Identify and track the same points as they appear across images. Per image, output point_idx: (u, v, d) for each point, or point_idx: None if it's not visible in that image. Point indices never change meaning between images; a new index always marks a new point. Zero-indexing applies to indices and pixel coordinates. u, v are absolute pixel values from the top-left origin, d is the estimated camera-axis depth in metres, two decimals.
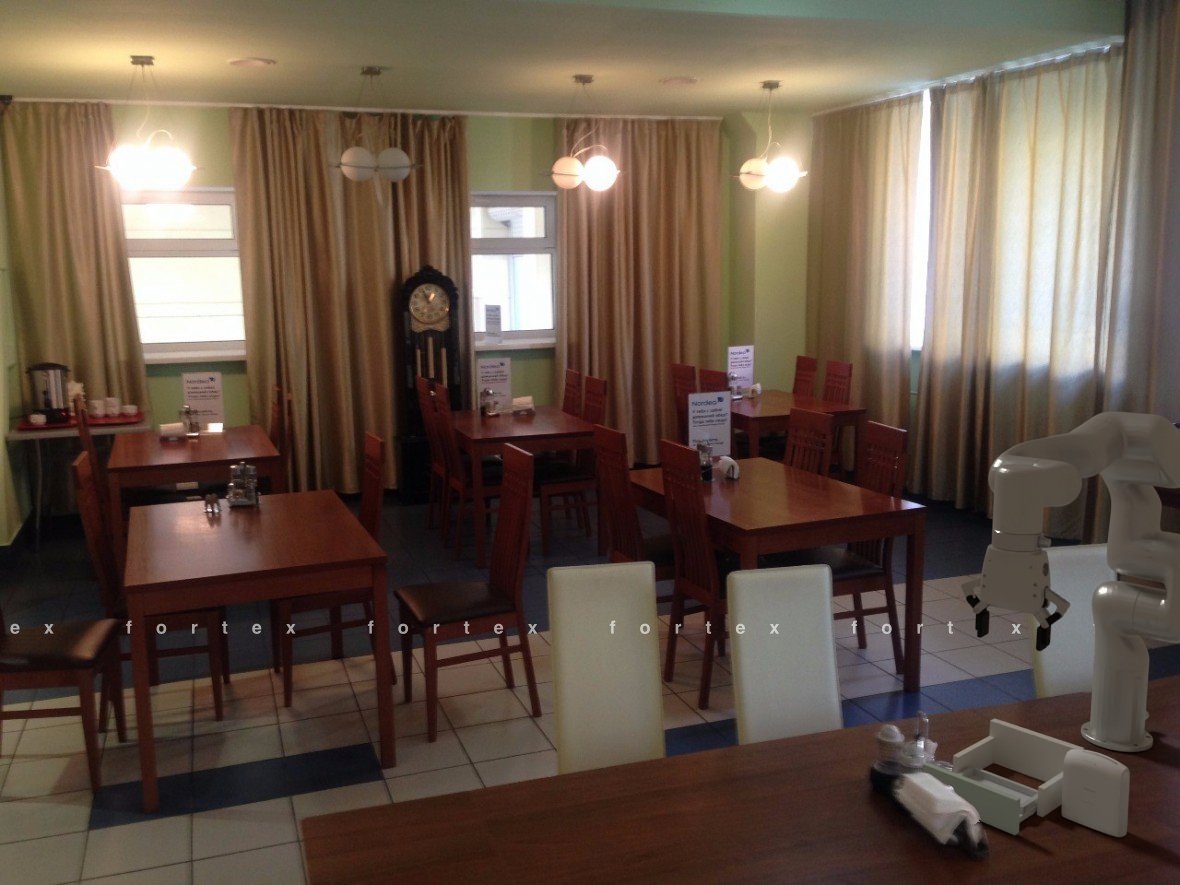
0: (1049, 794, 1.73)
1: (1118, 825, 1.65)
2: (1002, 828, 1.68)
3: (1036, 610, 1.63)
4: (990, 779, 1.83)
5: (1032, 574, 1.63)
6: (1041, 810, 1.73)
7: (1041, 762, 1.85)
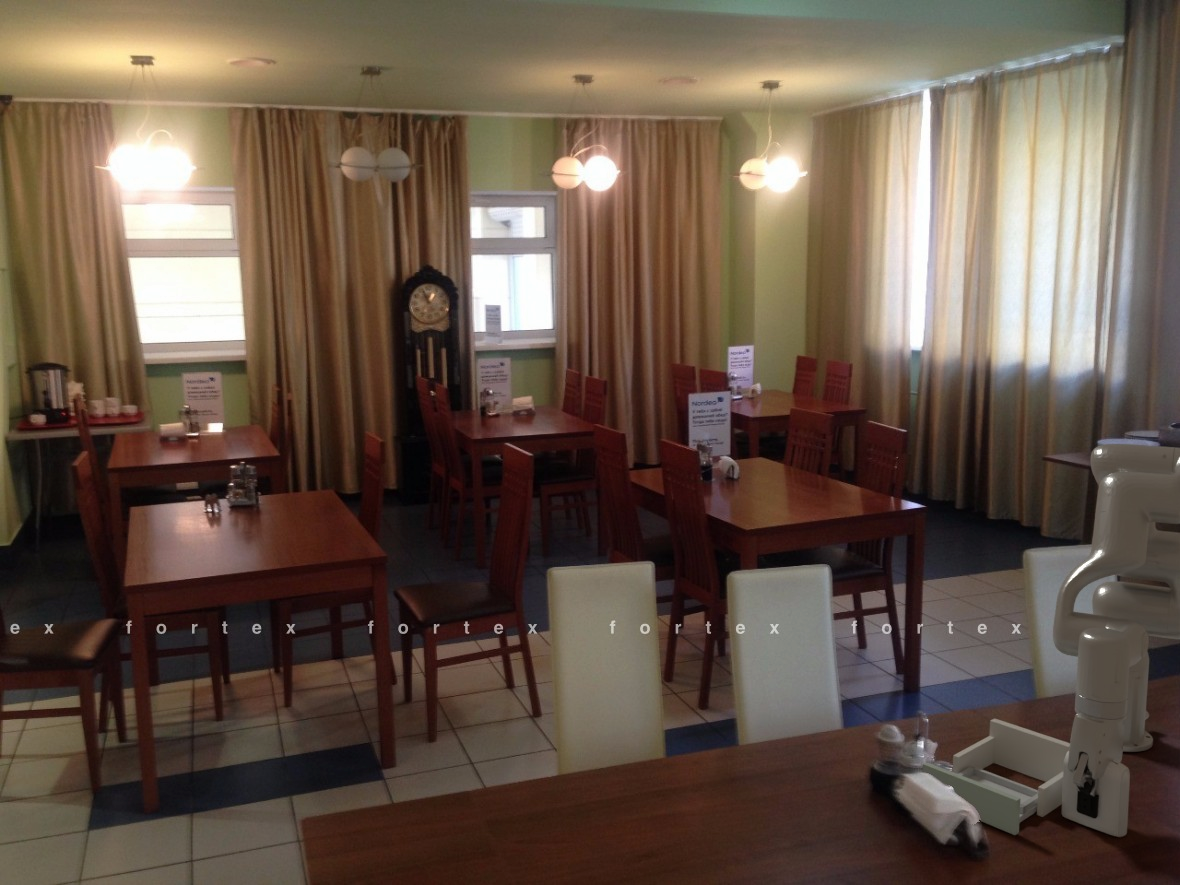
0: (1049, 794, 1.73)
1: (1118, 825, 1.65)
2: (1002, 828, 1.68)
3: None
4: (990, 779, 1.83)
5: (1122, 729, 1.68)
6: (1041, 810, 1.73)
7: (1041, 762, 1.85)
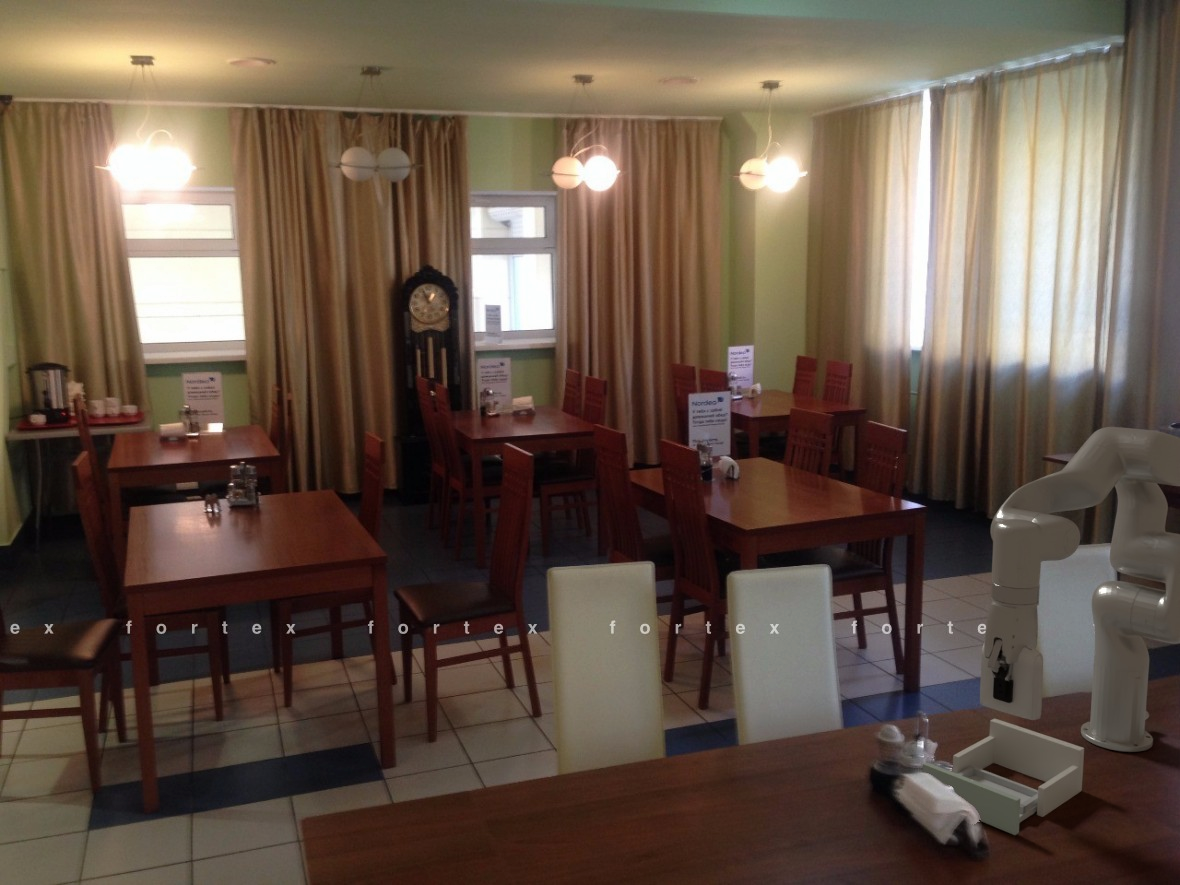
0: (1049, 794, 1.73)
1: (1032, 708, 1.71)
2: (1002, 828, 1.68)
3: (1035, 648, 1.76)
4: (990, 779, 1.83)
5: (1036, 617, 1.74)
6: (1041, 810, 1.73)
7: (1041, 762, 1.85)
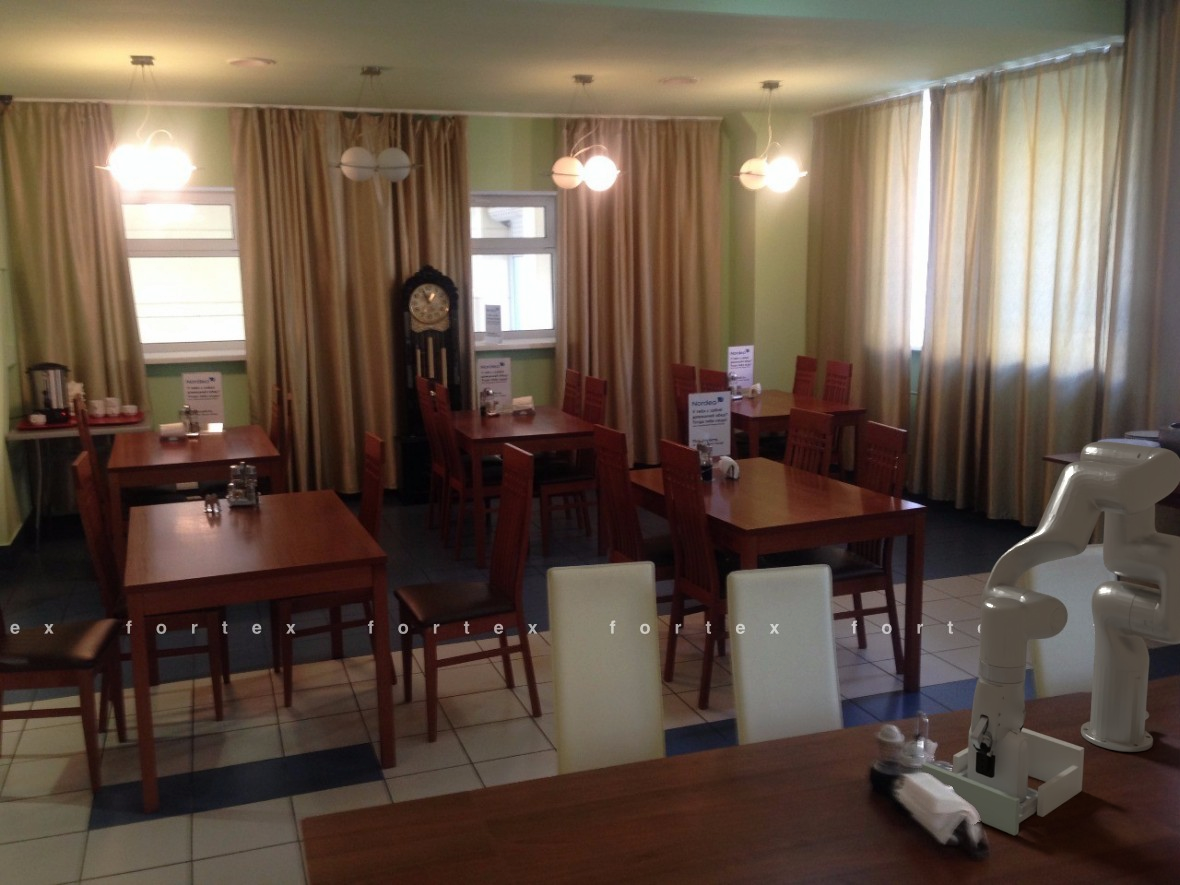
0: (1049, 794, 1.73)
1: (1017, 791, 1.74)
2: (1002, 828, 1.68)
3: (1022, 724, 1.78)
4: None
5: (1023, 693, 1.77)
6: (1041, 810, 1.73)
7: (1041, 762, 1.85)
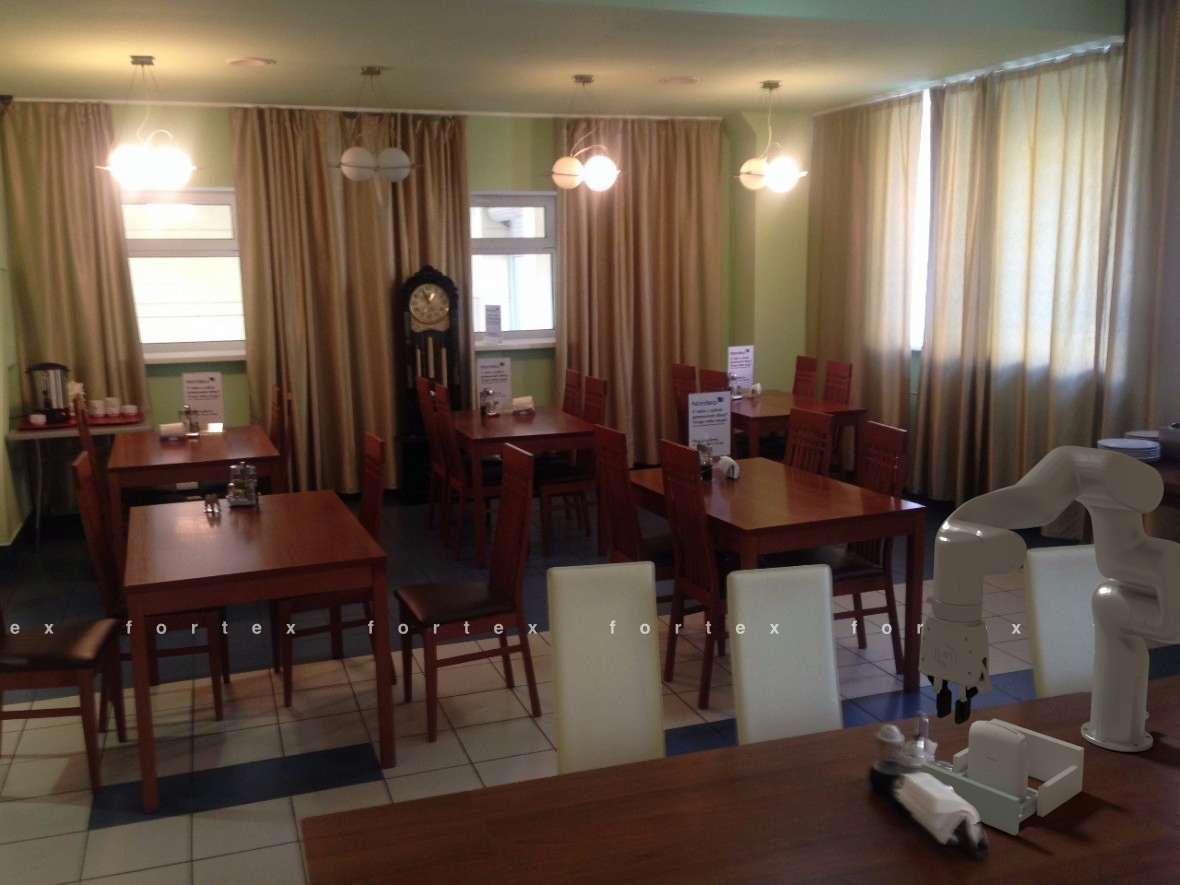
0: (1049, 794, 1.73)
1: (1017, 791, 1.74)
2: (1002, 828, 1.68)
3: None
4: None
5: None
6: (1041, 810, 1.73)
7: (1041, 762, 1.85)
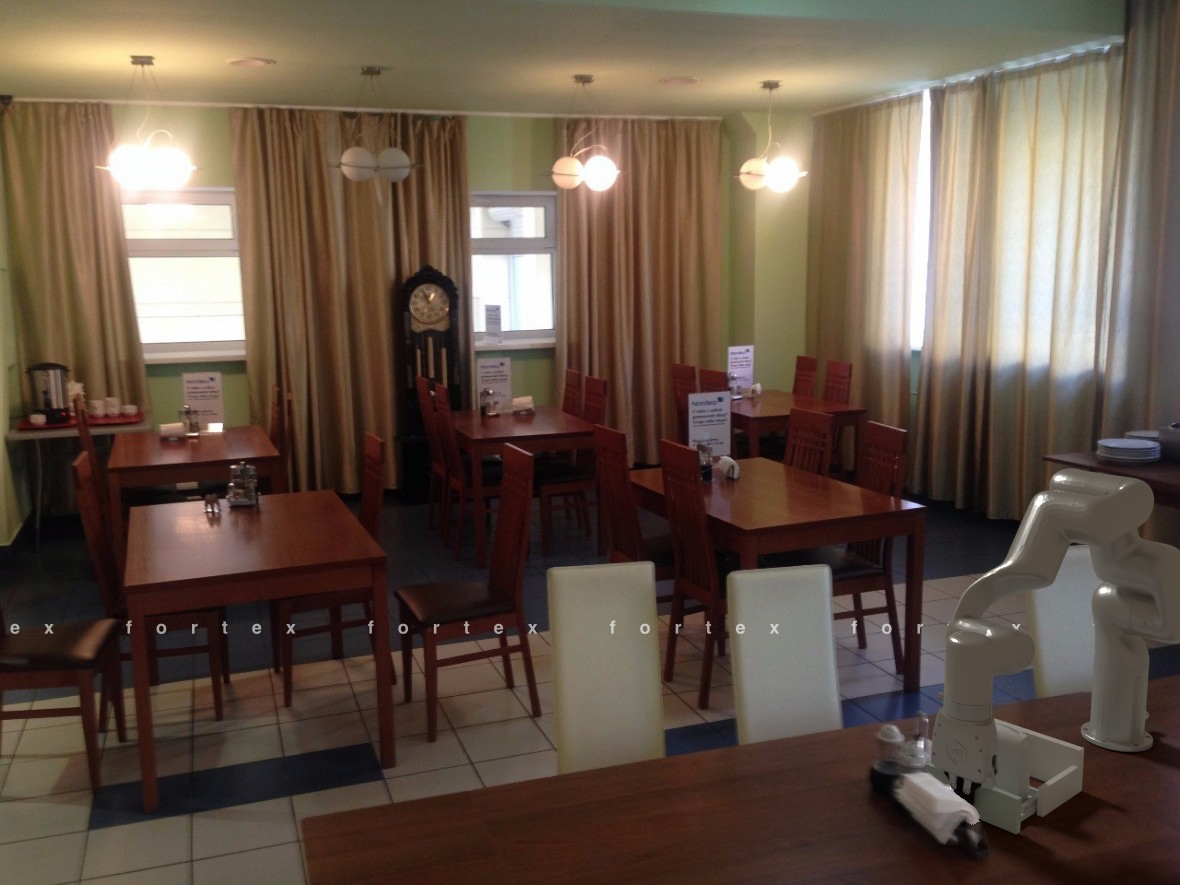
0: (1049, 794, 1.73)
1: (1019, 790, 1.74)
2: (1003, 827, 1.68)
3: None
4: None
5: None
6: (1041, 810, 1.73)
7: (1041, 762, 1.85)
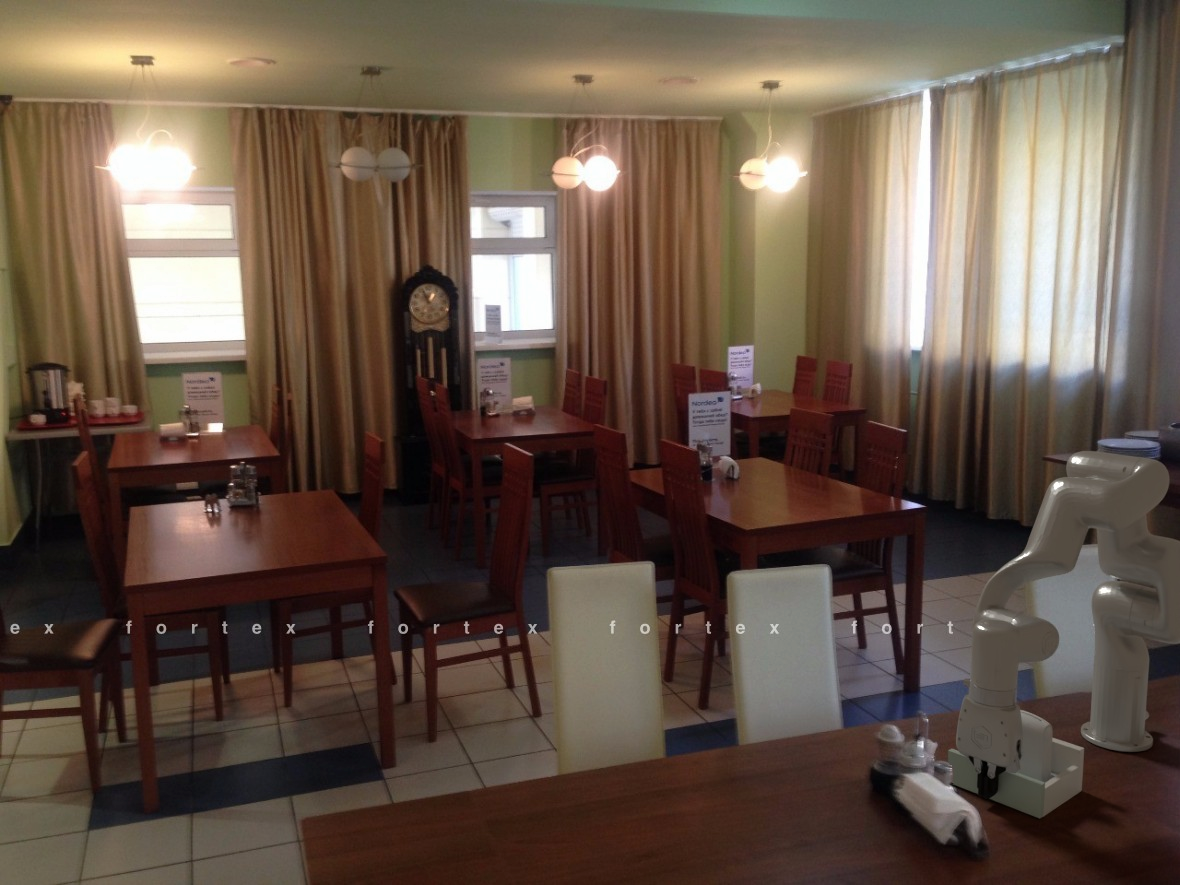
0: (1049, 794, 1.73)
1: (1041, 776, 1.79)
2: (1027, 812, 1.73)
3: None
4: None
5: None
6: None
7: None
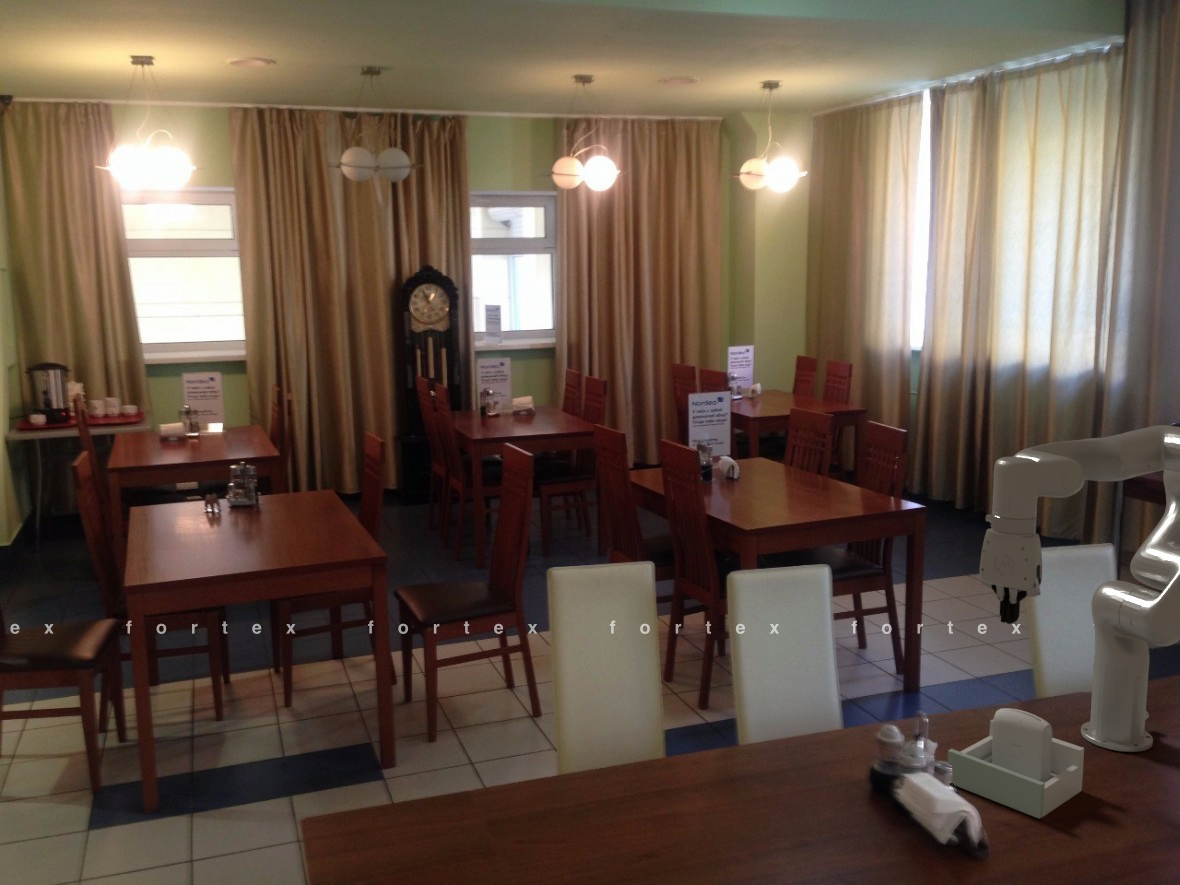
0: (1049, 794, 1.73)
1: (1041, 777, 1.79)
2: (1027, 812, 1.73)
3: None
4: None
5: None
6: None
7: None
